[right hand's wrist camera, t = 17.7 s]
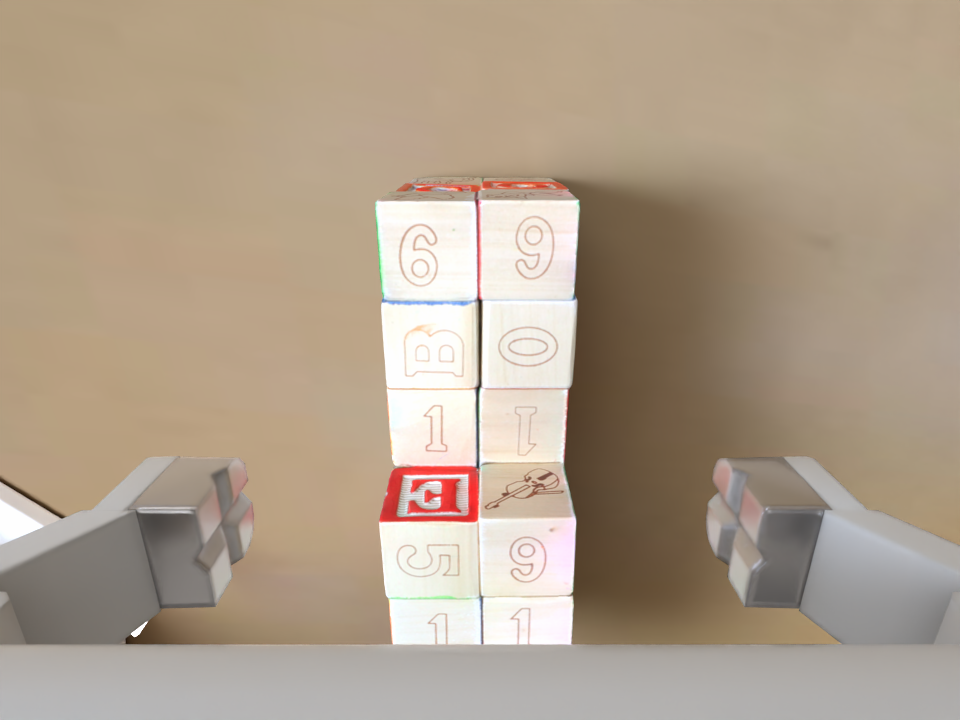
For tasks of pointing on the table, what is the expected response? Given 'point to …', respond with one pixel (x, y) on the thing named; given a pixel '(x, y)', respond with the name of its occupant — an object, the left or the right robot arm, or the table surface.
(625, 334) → the table surface
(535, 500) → the stack of blocks
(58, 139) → the table surface
